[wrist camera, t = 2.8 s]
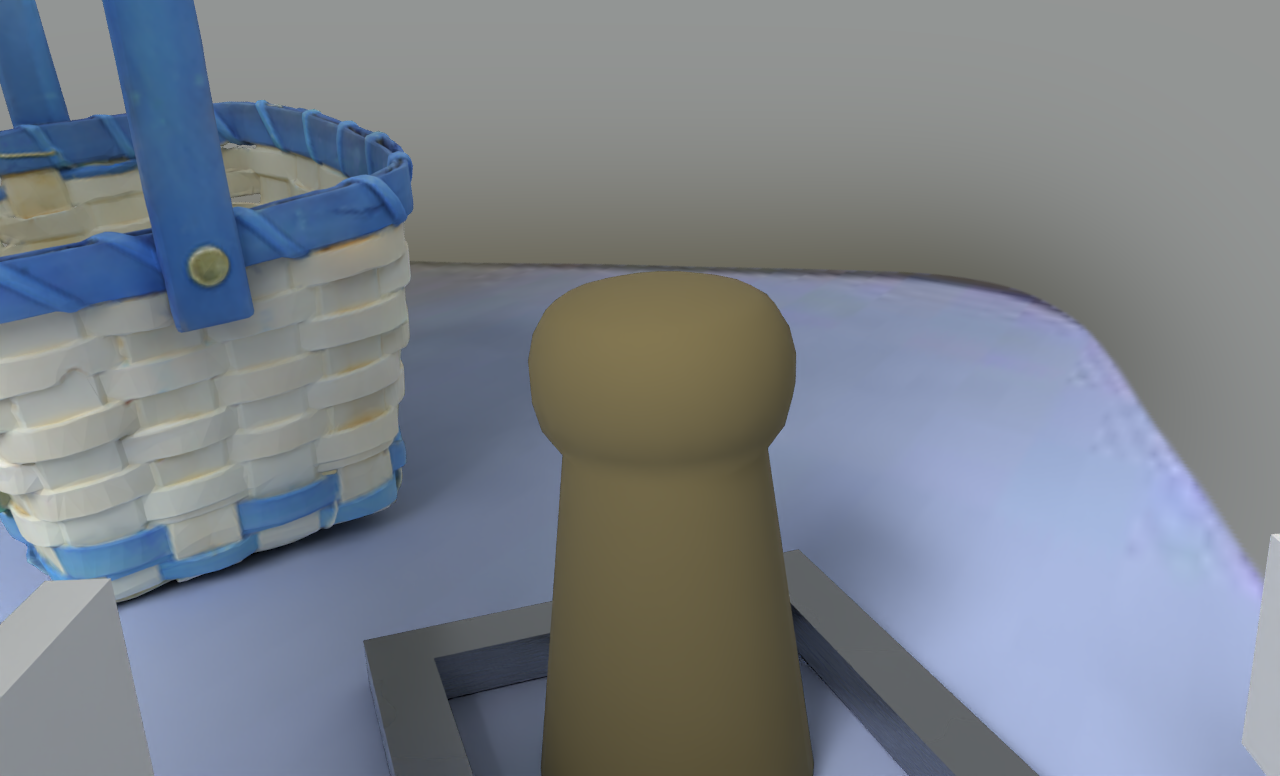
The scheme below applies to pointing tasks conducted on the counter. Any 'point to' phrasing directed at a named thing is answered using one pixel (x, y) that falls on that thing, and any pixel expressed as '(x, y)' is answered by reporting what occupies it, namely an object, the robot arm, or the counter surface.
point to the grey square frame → (825, 637)
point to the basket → (190, 313)
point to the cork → (668, 531)
